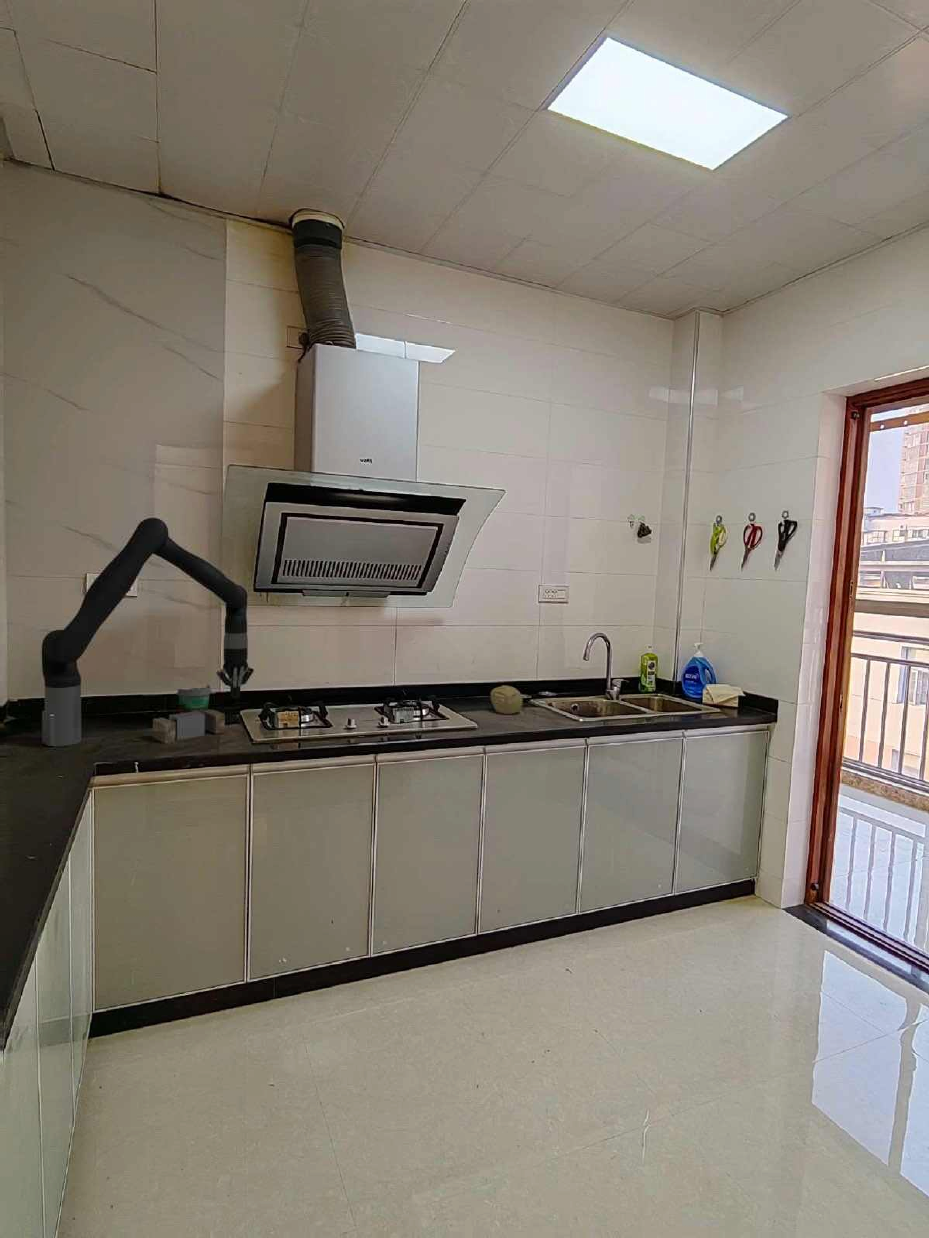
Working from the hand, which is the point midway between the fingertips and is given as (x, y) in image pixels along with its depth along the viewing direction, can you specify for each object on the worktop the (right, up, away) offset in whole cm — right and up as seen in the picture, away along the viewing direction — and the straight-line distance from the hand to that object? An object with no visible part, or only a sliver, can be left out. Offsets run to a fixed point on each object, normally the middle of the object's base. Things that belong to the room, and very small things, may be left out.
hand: (235, 697), depth 231 cm
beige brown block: (-16, -11, -17) cm, 26 cm away
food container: (-18, -8, +14) cm, 24 cm away
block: (-11, -11, -12) cm, 20 cm away
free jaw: (-6, -10, -5) cm, 13 cm away
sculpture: (+93, -11, +44) cm, 103 cm away
